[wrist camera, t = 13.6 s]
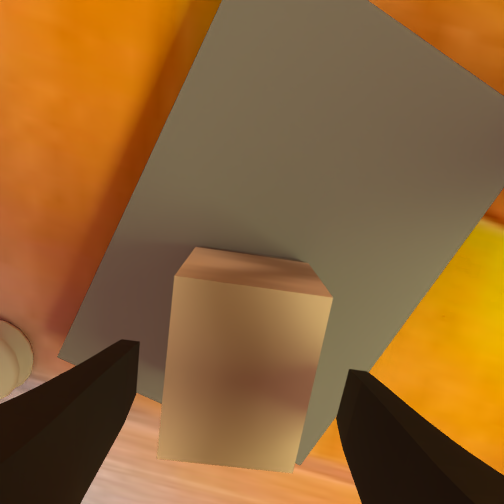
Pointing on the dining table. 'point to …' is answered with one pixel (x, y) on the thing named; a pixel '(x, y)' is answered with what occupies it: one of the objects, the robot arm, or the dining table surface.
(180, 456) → the block
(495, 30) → the dining table surface
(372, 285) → the board
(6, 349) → the rook chess piece
